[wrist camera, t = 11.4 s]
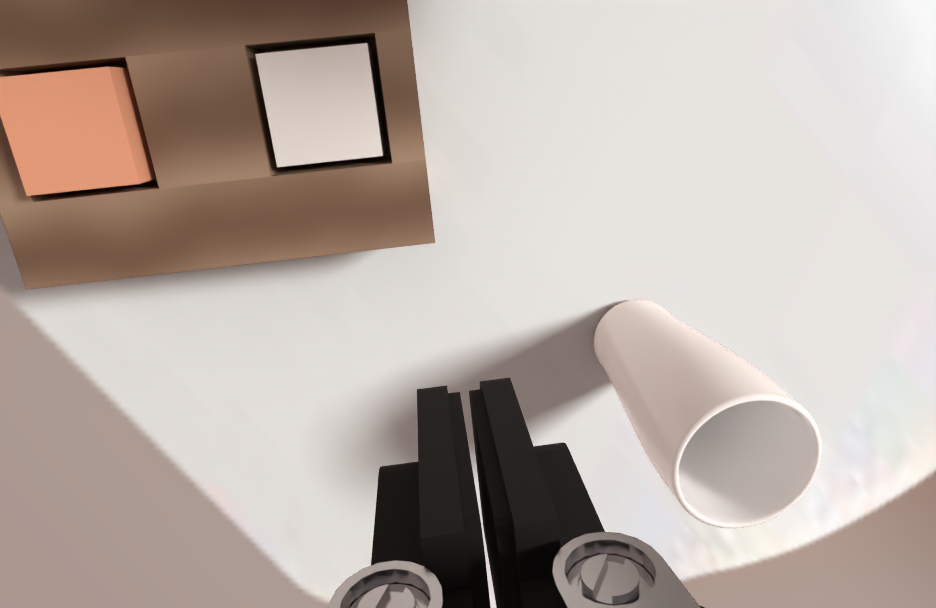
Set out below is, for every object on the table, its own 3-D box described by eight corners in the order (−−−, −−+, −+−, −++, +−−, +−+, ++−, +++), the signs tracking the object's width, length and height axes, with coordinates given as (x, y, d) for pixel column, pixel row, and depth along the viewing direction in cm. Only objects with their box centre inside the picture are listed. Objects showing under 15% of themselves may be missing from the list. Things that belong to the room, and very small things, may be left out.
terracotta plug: (40, 79, 30) (-12, 78, 27) (145, 69, 31) (108, 66, 27) (71, 183, 32) (26, 196, 28) (171, 173, 32) (139, 183, 28)
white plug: (273, 58, 32) (255, 53, 28) (372, 48, 32) (367, 42, 28) (292, 158, 33) (277, 167, 30) (385, 148, 34) (382, 155, 30)
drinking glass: (564, 367, 41) (645, 513, 27) (603, 272, 39) (712, 375, 25) (656, 393, 42) (780, 545, 28) (699, 302, 40) (854, 416, 26)
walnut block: (4, -10, 32) (-85, -32, 26) (400, -46, 33) (398, -75, 27) (86, 258, 36) (26, 289, 31) (431, 219, 37) (435, 242, 32)
